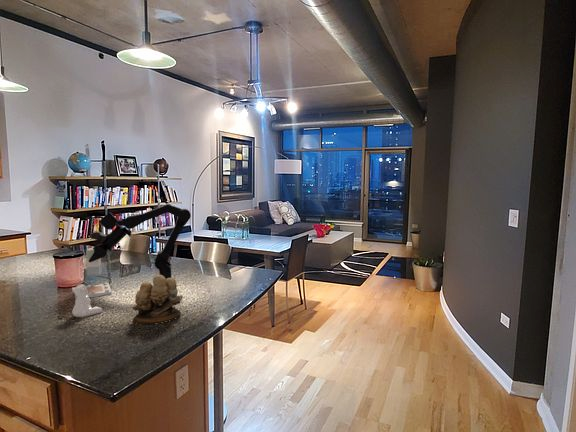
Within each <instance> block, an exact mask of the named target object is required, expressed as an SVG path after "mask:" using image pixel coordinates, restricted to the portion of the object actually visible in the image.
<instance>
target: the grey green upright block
mask: <svg viewBox="0 0 576 432" xmlns="http://www.w3.org/2000/svg"><path fill="white" fill-rule="evenodd" d="M93 248H94V247H90V248H89V247H88V248H87V249H86V250H85V251H86V252H85V254H86V256H85V257H86V275H87V276H88V277H89V276H100V275H101V273H102V258H100V259H97V260H95V261H93V262H89V259H90V258H91V256H92V255H93V253H94V250H93Z"/></svg>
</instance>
